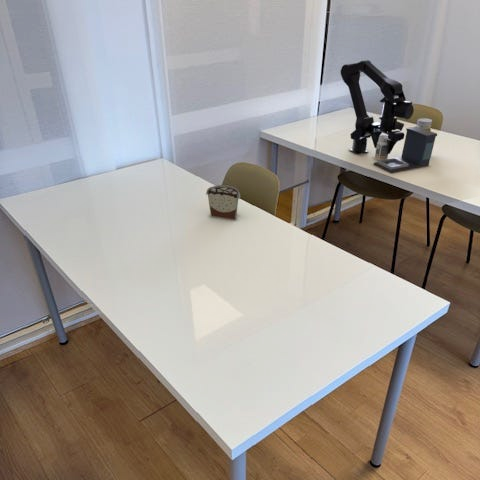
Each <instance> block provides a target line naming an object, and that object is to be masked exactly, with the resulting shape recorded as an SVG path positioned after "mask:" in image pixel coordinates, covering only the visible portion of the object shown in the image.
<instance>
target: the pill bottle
mask: <svg viewBox="0 0 480 480" xmlns="http://www.w3.org/2000/svg"><path fill="white" fill-rule="evenodd" d="M387 139H388V135H387V134H385V135H383V134H381V135H380V136H379V141H378V142H377V147H376V148H375V154H374V159H375V160H383V159H388V158H389V154H387Z"/></svg>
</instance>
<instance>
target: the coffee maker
mask: <svg viewBox="0 0 480 480" xmlns="http://www.w3.org/2000/svg"><path fill="white" fill-rule="evenodd" d="M405 129H406V130H405V131H406V133H405V136H404V143H403V146H402V147H403V148H402V152H401V157H387V159H383V160H377V159H376V160H377V161H374V162H373V166H376V168H377V167H378V168H379V169H381V170H384V171H385V172H388V173H389V174H395V173H400V172H405V171H410V170H415V169H420V168H426V167H430V162H431V157H432V153H433V150H434V146H435V142H436V138H437V136H438V133H437V132H434V131H432V130H431V131H428V130H426V129H423V128H420V127H417V125H416V126H411V127H406V128H405Z"/></svg>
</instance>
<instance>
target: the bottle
mask: <svg viewBox="0 0 480 480" xmlns="http://www.w3.org/2000/svg"><path fill="white" fill-rule="evenodd" d="M432 123H433V119H431V118H425V117H420V118H418V119H417V123H416V126H417V127H420V128H423V129H426V130H428V131H431V132H432V129H431V127H432Z"/></svg>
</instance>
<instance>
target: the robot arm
mask: <svg viewBox="0 0 480 480" xmlns="http://www.w3.org/2000/svg"><path fill="white" fill-rule="evenodd" d="M340 68H341V69H340V71H339V73H340V74H339V75H340V77H341V79H342V82H343V83H344V84H345V85H346V86H347V88H348V92H349V95H350V99H351V102H352V107H353V111H354V114H355V118H356V119H355V124H354V125H355V126H354V130H353V131H351V133H350V139H351V140H352V147H351V148H349V149H348V150H349V151H350V152H352V153H354V154H356V155H359V154H364V153H365V154H367V153H368V152H369V151H368V150H367V145H368V139H370V138H371V140H372V143H373V147H374V149H376V147H377V142H378V141H379V136H381V135H382V133H383V134H385V135H386V136H388V139H387V154H388V155H390V154H391V152H392V151H393V149H394V147H395V145H396V144H397V143H398V142H399V141H400V142H401V141H402V140H405V133H404V131H403V130H404V129H403V128H404V126H405V123H403V122H400V121H398V118H399V119H402V120H403V119H404V120H410V119H411V118H412V117H413V115H414V108H415V107H414V105H413V101H408V100H407V98H406V96H405V93H404V90H403V84H402V83H401V82H400V81H397V80H395V79H392V78H390V77H388V76H387V75H385V74H384V73H383V72H382V71H381V70H380V69H379V68H378V67H376V65H374V64H373V63H372V62H371V60H369V59H365V60H360V61H359V62H353V63H347V64H343V65H342V66H341V67H340ZM361 73H363V74H364V75H365V76H366V77H367V78H368V79H370V80H371V82H372V83H374V84H375V85H376V86H377V87H378V88H379V91H380V93H381V94H382V96H383V98H381V99H380V100H379V103H383V105H382V106H383V107H382V112H381V116H378V117H379V118H378V120H380V122H379V121H378V122H375V119H374V116H369V115H368V112H367V109H366V104H365V101H364V100H365V99H364V97H363V93H362V90H361V86H360V80H361Z"/></svg>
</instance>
